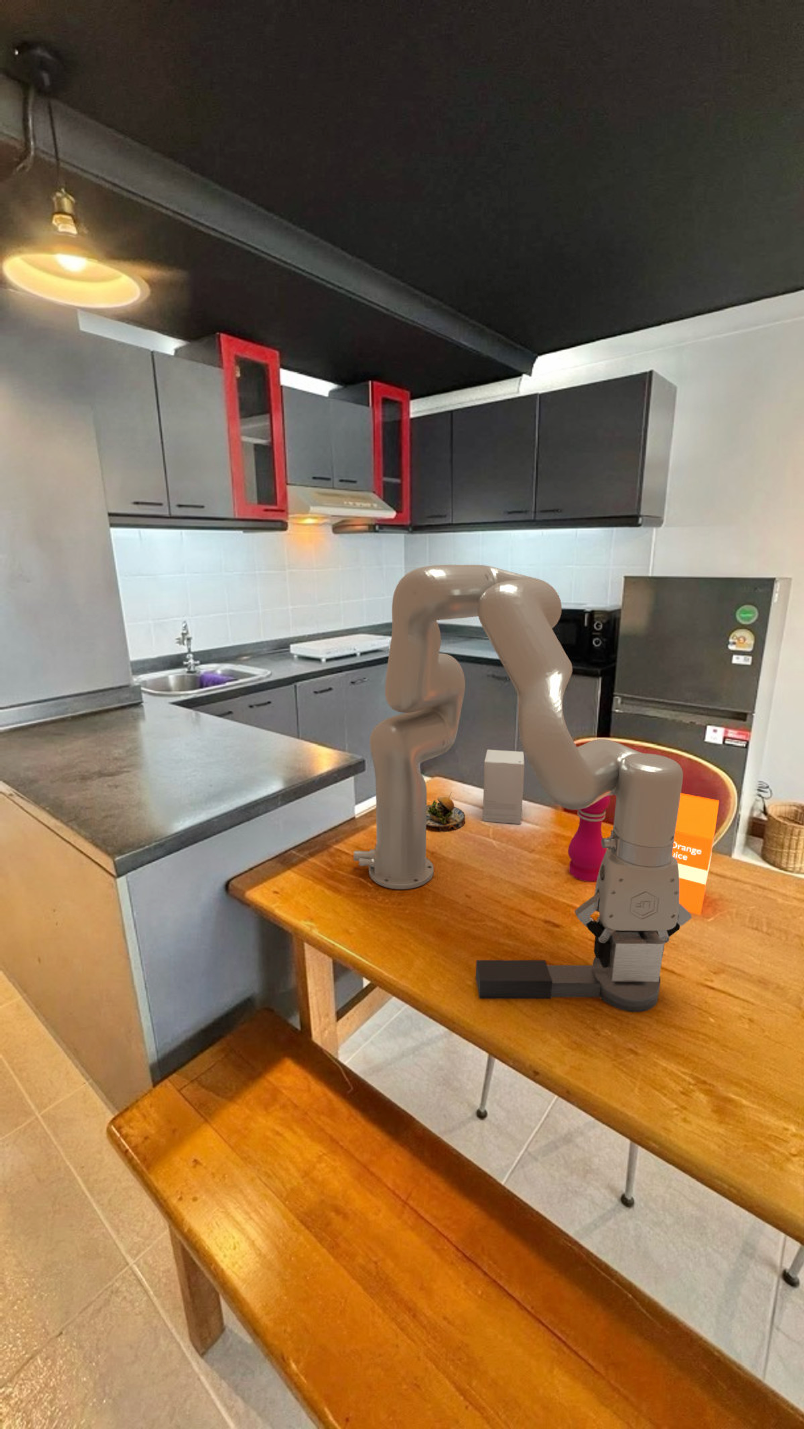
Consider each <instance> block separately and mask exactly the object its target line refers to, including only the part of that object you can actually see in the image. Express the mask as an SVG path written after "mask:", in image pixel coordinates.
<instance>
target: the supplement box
mask: <svg viewBox="0 0 804 1429" xmlns="http://www.w3.org/2000/svg"><path fill="white" fill-rule="evenodd" d="M524 755H525V753H524V751H517V750H516V751H515V750H501V749H500V750H498V749H487V750H486V754H485V759H484V762H483V764H484V767H483V772H484V773H483V794H482V795H483V797H482V799H483V801H482V821H483V822H491V823H501V824H503V823H504V824H512V825H513V824H516V825H521V824H522V813H523V796H524V795H523V794H524V778H525V775H524V774H525V756H524Z"/></svg>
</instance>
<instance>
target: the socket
mask: <svg viewBox="0 0 804 1429" xmlns="http://www.w3.org/2000/svg"><path fill="white" fill-rule="evenodd" d="M617 932H638V934H639V935H640V937H641V938H642V939H620V937H619V936H618V934H617ZM608 940H609V942H610V954H609V963H608V967H607V968H605V969H606V971H607V973H608V975H609V977H610V979H611V981H646V982H659V976H660V977H661V968H662V962H663V957H664V951H663V949H665V944H664V943H663V941H662V940H661V938H660V937H659V935H658V934H657V932H656V931H616V930H614V931H613V932H612V934H611V936H610V937H609V939H608ZM662 956H663V957H662Z"/></svg>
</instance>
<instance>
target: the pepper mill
mask: <svg viewBox="0 0 804 1429" xmlns="http://www.w3.org/2000/svg"><path fill="white" fill-rule="evenodd" d="M610 796H611V795H609V796H605V797H603V798H602V799H600V800H599V801H597V802H596V803H594V804H592V805H590V806H588V807H586V808H583V809H579V810H577V816H578V817H579V823H578V828H577V830H576V831H575V833H574V836H573V837H572V838H571V840H570V843H569V845H568V849H567V853H568V857H569V859H570V861H569V863H568V864H569V866H568V871H569V874H571V876H572V877H574V878H575V879H578V880H580V881H584V882H597V878H598V874H599V870H600V866H601V863H602V860H603V857H604V855H605V852H606V850H607V849H608V848H602V844H601V840H602V838H604V837H603V835H602V824H603V820H605V818H606V809H607V808H608V807H609V805H610V802H611V797H610Z"/></svg>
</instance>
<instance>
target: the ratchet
mask: <svg viewBox="0 0 804 1429" xmlns="http://www.w3.org/2000/svg"><path fill="white" fill-rule="evenodd" d="M617 934H618V936H619V937H620V939H642V938H641V937H640V935H639V934H638V932H617ZM475 981H476V988H477V992H478V998H479V999H481V1000H482V999H483V1000H484V999H489V1000H495V999H497V1000H500V999H501V1000H502V999H503V1000H505V999H506V1000H509V999H510V1000H511V999H512V1000H514V999H515V1000H517V999H518V1000H520V999H521V1000H522V999H523V1000H524V999H525V1000H529V999H530V1000H535V999H536V1000H537V999H538V1000H539V999H540V1000H545V999H546V1000H551V999H552V998H599V999H600V1000H601V1001H603V1002H604V1003H606V1004H607V1005H609V1006H611V1007H613V1008H615V1009H618V1010H621V1011H623V1012H630V1013H642V1012H646V1011H650V1010H652V1009H653V1008H654V1007H655V1006H656V1005H657V1003H658V1001H659V1000H658V999H659V994H660V987H661V975H660V976H659V982H646V981H611V979H610V977H609V975H608V973H607V971H606V969H605V968H603V967H602V965H601V962H600V960H599V958H596V956H595V957H594V958H593V960H592V964H589V965H585V964H584V965H581V964H580V965H578V964H576V965H575V964H574V965H573V964H571V965H570V964H569V965H567V964H566V965H565V964H564V965H562V964H561V965H558V964H557V965H555V964H554V965H553V964H547V961H546V960H545V959H539V960H537V959H536V960H535V959H533V960H532V959H531V960H525V959H523V960H520V959H519V960H518V959H513V960H512V959H505V960H504V959H491V960H490V959H489V960H488V959H485V960H483V959H481V960H480V959H479V960H478V959H477V960H476V963H475Z"/></svg>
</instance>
